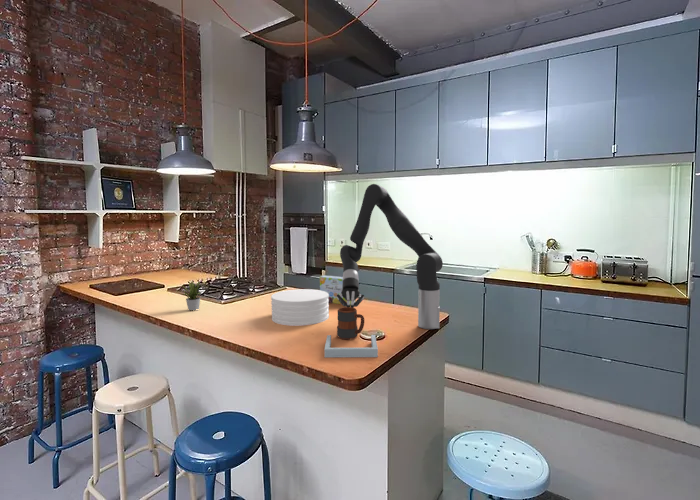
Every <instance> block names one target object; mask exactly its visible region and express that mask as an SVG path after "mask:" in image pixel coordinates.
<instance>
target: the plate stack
mask: <svg viewBox="0 0 700 500" xmlns="http://www.w3.org/2000/svg"><path fill="white" fill-rule="evenodd" d="M270 296H271V297H270V299H271V301H270V302H271V303H270V304H271V320H272V322H273V323H275V324H278V325H283V326H291V327H292V326H293V327H295V326H296V327H297V326H298V327H301V326H310V325H316V324H320V323H323V322H326V321H327V320H328V319H329V317H330V314H329V313H330V311H329V306H330V305H329V304H330V303H328V302H329V299H328V297H329V294H328V293H327V292H325V291H321V290H320V289H311V288H303V289H301V288H300V289H289V290H288V289H287V290H283V291H282V290H281V291H278V292H275V293H273V294H271V295H270Z"/></svg>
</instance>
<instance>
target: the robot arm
mask: <svg viewBox="0 0 700 500" xmlns="http://www.w3.org/2000/svg"><path fill="white" fill-rule="evenodd" d="M375 206H376V207H378V209H379V210H380V211H381V212H382V213H383V215H384V216H385V218H386V221H387V223H388V226H389V227H390V229H391V230H392V232H393V233H394V235H395V236H396V237H397V239H398V240H399V241H401V242H402V243H403V244H404V245H406V246H408V247H409V248H410V249H411V250H412V251H414V252H415V254H416V255H417V256H418V259H417V261H416V281H417V282H416V283H417V285H418V296H417V297H418V298H417V299H418V301H417V303H418V305H417V306H418V308H417V309H418V310H417V311H418V312H417V313H418V314H417V317H418V318H417V325H418V327H419V328H421V329H426V330H435V329H440V316H441V315H440V314H441V313H440V312H441V311H440V310H441V308H440V291H441V290H440V285H441V284H440V282H439V281H438V279H437V272H440V271H441V270H442V268H443V259H442V257H441V255H440V254H439V253H438V252H437V251H436V250H435V249H434V248H433V247H432V246H431V245H430V244H429V243H428V242H427V241H426V240H425V238H424V237H423V235H422V234H421V233H420V231H418V229H417V228H416V227H415V226H414V225H415V224H413V222H412V221H411V220H410V219H409V218H408V216H407V215H406V214H405V213H404V212H403V211H402V209H400V207H398V205H397V204H396V203H395V202H394V200H393V198H392V196H391V195H390V193H389V192H388V191H387V189H386V188H385V187H384V186H381V185H379V184H377V183H373V184H370V185H368V186H367V187H366V189H365V191H364V194H363V197H362V203H361V206H360V210H359V213H358V215H357V216H358V217H357V220H356V222H355V225H354V227H353V230H352V231H351V234H350V237H349V240H350V241H351V242H352V243H354V244H355V246H351V245H348V244H345V245H342V247H341V249H340V252H339V256H340V260H341V263H342V267H343V271H342V272H343V273H342V277H343V280H342V281H343V284H342V292H341V294H337V299H338V300H339V302H340V303H341V304H340V305H342V306H343V307H352V308H355V307H358V306H359V305H360V304H361V303H362V302H363V301H364V300H365V295H364V294H361V292H360V290H359V289H360V288H359V287H360V285H359V283H360V282H359V281H360V280H359V266H358V265H359V264H358V262H359V261H360V260H361V258H362V253H363V247H364V244H365V243H364V242H365V240H366V237H367V235H368V233H369V230H370V226H371V225H370V223H371V217H372V213H373V210H374V208H375ZM342 296H343V297H344V299H345V300H347V303H346V302H345V301H344V300H343V298H342ZM354 300H356V302H355V303H354ZM350 301H351V306H350Z"/></svg>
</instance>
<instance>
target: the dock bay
mask: <svg viewBox="0 0 700 500" xmlns="http://www.w3.org/2000/svg"><path fill="white" fill-rule="evenodd" d="M370 337H371V339H370V343H371V347H331V345H332V335H330V334H328V335H326V340H325V344H324V358H378V356H379V354H378V353H379V351H378V350H379V347H378V342H377V338H376V334H371V336H370Z"/></svg>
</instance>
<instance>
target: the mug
mask: <svg viewBox="0 0 700 500" xmlns="http://www.w3.org/2000/svg"><path fill="white" fill-rule="evenodd" d="M358 318H359V319H360V323H359V327H358V325H357V324H358V321H357V319H358ZM364 326H365V317H364V315H363V314H360V313H358V310H357V308H355V307H354V308H352V307H346V306H345V307H344V306H343V307H340V308H337V329H336V335H337V337H338V338H339V339H340V340H343V341H344V340H345V341H346V340H347V341H349V340H350V341H351V340H354V339H356V338H357V337H358V335H359V334H360V333H362V331H363V330H364Z"/></svg>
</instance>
